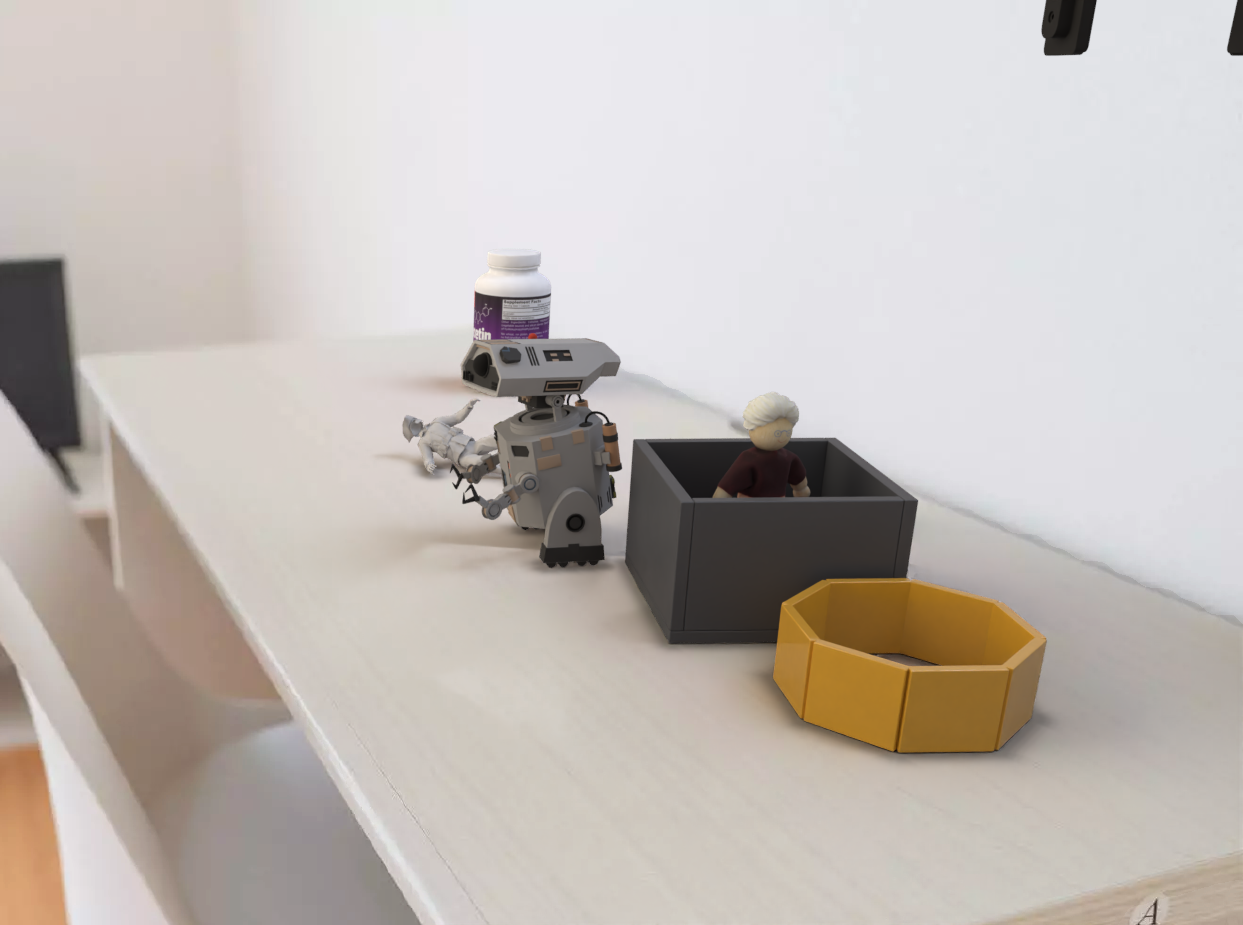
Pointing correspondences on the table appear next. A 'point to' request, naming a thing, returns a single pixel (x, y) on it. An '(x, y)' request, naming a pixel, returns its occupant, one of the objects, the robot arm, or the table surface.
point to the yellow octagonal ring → (908, 695)
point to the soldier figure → (448, 440)
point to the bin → (754, 535)
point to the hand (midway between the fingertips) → (1157, 54)
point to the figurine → (548, 441)
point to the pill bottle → (512, 297)
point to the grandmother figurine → (766, 453)
